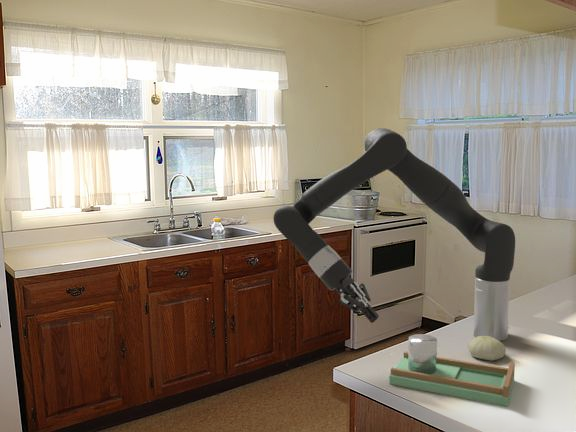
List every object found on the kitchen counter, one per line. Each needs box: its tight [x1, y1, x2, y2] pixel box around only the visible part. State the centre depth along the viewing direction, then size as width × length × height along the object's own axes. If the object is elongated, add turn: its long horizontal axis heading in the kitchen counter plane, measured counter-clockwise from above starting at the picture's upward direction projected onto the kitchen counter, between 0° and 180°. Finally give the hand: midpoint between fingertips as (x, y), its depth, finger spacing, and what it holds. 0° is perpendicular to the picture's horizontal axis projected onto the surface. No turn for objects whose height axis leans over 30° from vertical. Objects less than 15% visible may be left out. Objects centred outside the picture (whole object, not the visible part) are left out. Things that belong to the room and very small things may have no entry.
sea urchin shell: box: [468, 336, 507, 362], centre depth 144 cm, size 9×8×8 cm
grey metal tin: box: [407, 333, 438, 374], centre depth 132 cm, size 7×7×8 cm
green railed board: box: [388, 351, 516, 407], centre depth 129 cm, size 14×26×4 cm, turn 62°
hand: (375, 320), depth 136 cm, fingers closed
